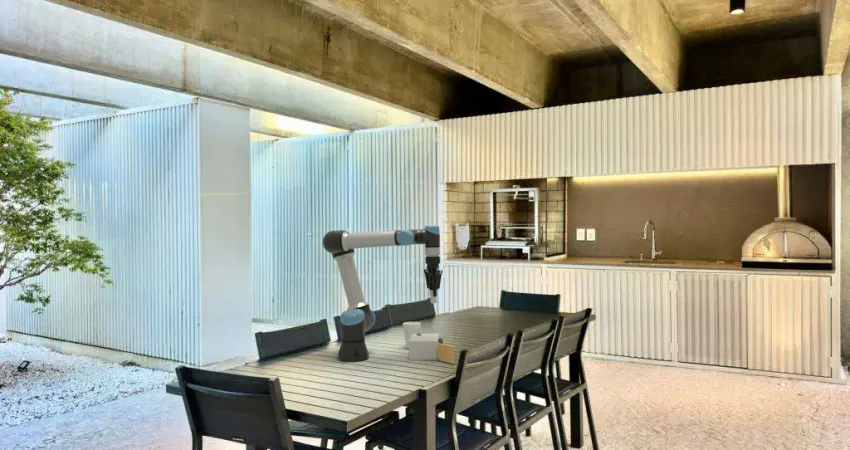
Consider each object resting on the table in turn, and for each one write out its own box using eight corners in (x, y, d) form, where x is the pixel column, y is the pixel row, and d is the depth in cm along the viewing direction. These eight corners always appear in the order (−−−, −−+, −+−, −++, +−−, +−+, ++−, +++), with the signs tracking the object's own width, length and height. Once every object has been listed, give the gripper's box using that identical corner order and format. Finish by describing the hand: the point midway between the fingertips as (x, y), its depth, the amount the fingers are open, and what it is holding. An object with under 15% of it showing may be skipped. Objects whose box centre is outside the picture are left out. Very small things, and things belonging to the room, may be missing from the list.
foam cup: (422, 345, 324) (421, 321, 324) (420, 349, 315) (419, 324, 315) (404, 345, 325) (404, 321, 325) (402, 349, 315) (401, 324, 316)
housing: (442, 359, 289) (441, 339, 289) (409, 359, 290) (408, 339, 290) (443, 351, 309) (442, 332, 309) (412, 351, 310) (411, 332, 310)
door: (438, 358, 289) (437, 342, 289) (454, 363, 279) (454, 346, 279) (436, 359, 288) (435, 342, 288) (452, 363, 278) (452, 346, 278)
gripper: (446, 255, 298) (447, 303, 298) (430, 255, 308) (431, 301, 308) (434, 256, 293) (435, 304, 293) (418, 255, 304) (419, 302, 304)
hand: (433, 302), depth 301 cm, fingers closed
